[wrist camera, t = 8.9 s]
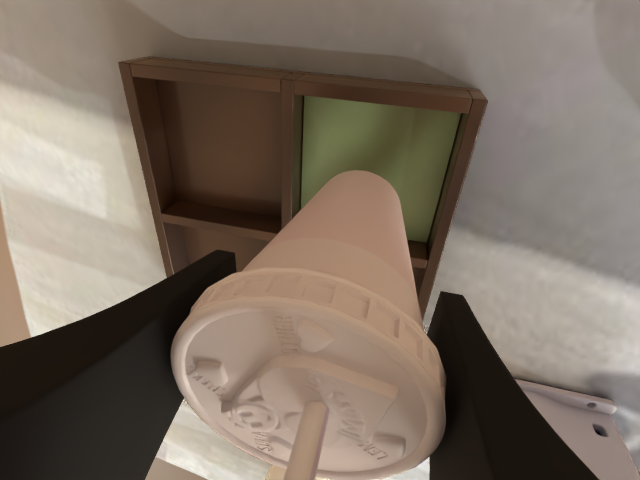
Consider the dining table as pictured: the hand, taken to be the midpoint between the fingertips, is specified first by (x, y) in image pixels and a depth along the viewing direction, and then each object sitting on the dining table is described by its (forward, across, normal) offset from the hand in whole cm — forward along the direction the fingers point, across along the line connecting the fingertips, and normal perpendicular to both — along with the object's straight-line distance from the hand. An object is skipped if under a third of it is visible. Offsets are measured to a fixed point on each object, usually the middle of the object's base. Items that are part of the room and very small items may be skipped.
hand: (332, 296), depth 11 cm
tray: (+10, +4, +4) cm, 11 cm away
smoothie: (+6, 0, 0) cm, 6 cm away
